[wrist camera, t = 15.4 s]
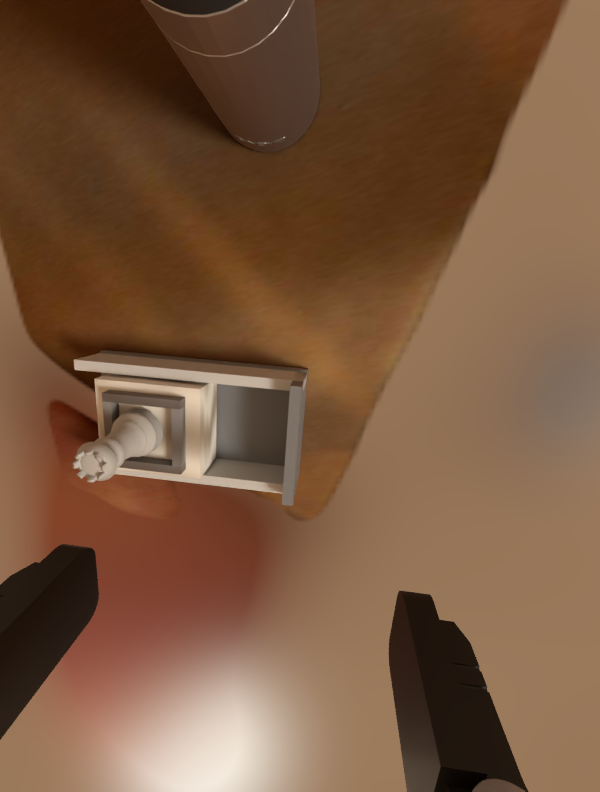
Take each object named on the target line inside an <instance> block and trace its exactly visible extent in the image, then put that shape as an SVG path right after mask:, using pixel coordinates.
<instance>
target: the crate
mask: <svg viewBox="0 0 600 792" xmlns="http://www.w3.org/2000/svg"><path fill="white" fill-rule="evenodd" d="M94 380H95V393H96V405H97V419H98V432H99V438H102V437H106V436H107V435H109V434H110V432H111V429H112V426H113V423H114V421H115V420H116V419H117V418H118V417H119V416H120V415H122V414H123V413H124V412H125V411H128V410H131V409H133V408H135V409H144V410H146V411H148V412H150V413H152V414H153V415H154V416H155V417H156V418H157V419H158V420H159V422H160V424H161V427H162V430H163V438H162V441H161V444H160V445H159V446H158V447H157V448H156V449H155V450H154V451H152V452H150V453H149V454H147V455H144V456H141V457H129V458H127V459H125V460H124V462H123V464H122V465H121V466H120V467H119V468H117V469H119V470H128V471H136V472H145V473H154V474H162V475H171V476H179V477H188V478H197V479H200V478H201V477H202V475H203V474H204V473H205V471H206V470H207V469H208V467H209V466H210V465H211V463H212V462H213V461H214V459H215V458H216V425H217V384H214V383H204V382H194V381H183V380H173V379H163V378H152V377H142V376H132V375H122V374H111V373H109V374H106V375H104V376H101V377H98V378H95V379H94Z"/></svg>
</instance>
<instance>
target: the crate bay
mask: <svg viewBox="0 0 600 792" xmlns="http://www.w3.org/2000/svg"><path fill="white" fill-rule="evenodd" d="M74 368H75V370H81V371H91V372H101V376H104V375H106V374H109V373H111V374H122V375H132V376H142V377H152V378H163V379H173V380H183V381H194V382H204V383H214V384H217V425H216V458H215V459H214V461H213V462H212V463H211V465H210V466H209V467H208V469H207V470H206V471H205V473H204V474H203V475H202V477H201V478H200V479H197V478H188V477H179V476H171V475H162V474H154V473H145V472H136V471H128V470H119V469H116V472H115V474H121V475H129V476H138V477H146V478H155V479H163V480H172V481H181V482H189V483H198V484H206V485H215V486H223V487H232V488H240V489H249V490H257V491H266V492H274V493H283V495H282V505H289V506H292V505H293V500H294V496H295V491H296V486H297V481H298V477H299V471H300V459H301V447H302V435H303V423H304V410H305V398H306V386H307V374H308V369H305V368H294V367H284V366H273V365H262V364H251V363H241V362H230V361H219V360H208V359H198V358H187V357H176V356H165V355H155V354H144V353H133V352H122V351H111V350H102V351H99V353H98V354H94V355H90V356H86V357H82V358H78V359H74Z"/></svg>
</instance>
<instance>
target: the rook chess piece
mask: <svg viewBox="0 0 600 792" xmlns="http://www.w3.org/2000/svg"><path fill="white" fill-rule="evenodd" d="M162 438H163V430H162V427H161V424H160V422H159V420H158V419H157V418H156V417H155V416H154V415H153V414H152V413H150V412H148V411H146V410H144V409H135V408H133V409H131V410H128V411H125V412H124V413H123V414H122V415H120V416H119V417H118V418H117V419H116V420H115V421H114V423H113V426H112V429H111V432H110V434H109V435H107V436H106V437H102V438H99V439H97V440H96V441H95V442H88V443H85V444H83V445H82V446H81V447H80V448H79V449H78V451H77V455H76V456H75V457H74V458H76V461H74V462H72V465H73V469H75V468H78V469H79V471H80V472H79V473H77V474H76V475H77V476H78V477H79V478H80V479H82V478H83V477H85V476H86V477H88V478H87V482H95V481H96V480H99V481H104V480H107V479H110V478H111V477H112V476H113V475H114V474H115V472H116V469H117V468H119V467H120V466H121V465H122V464H123V462H124V460H125V459H127V458H129V457H141V456H144V455H147V454H149V453H150V452H152V451H154V450H155V449H156V448H157V447H158V446H159V445H160V444H161V441H162Z"/></svg>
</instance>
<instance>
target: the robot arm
mask: <svg viewBox="0 0 600 792" xmlns="http://www.w3.org/2000/svg"><path fill="white" fill-rule="evenodd" d="M140 1H141V2H142V4H143V5H144V7H145V8H146V10H147V11H148V13H149V14H150V15H151V17H152V18H153V20H154V21H155V23H156V24H157V26H158V27H159V29H160V30H161V32H162V33H163V35H164V36H165V38H166V39H167V41H168V42H169V44H170V45H171V47H172V48H173V50H174V51H175V53H176V54H177V56H178V57H179V59H180V60H181V62H182V63H183V65H184V66H185V68H186V69H187V71H188V72H189V74H190V75H191V77H192V78H193V80H194V81H195V83H196V84H197V86H198V87H199V89H200V90H201V92H202V93H203V95H204V96H205V98H206V99H207V101H208V102H209V104H210V105H211V107H212V108H213V110H214V111H215V113H216V114H217V116H218V117H219V119H220V120H221V122H222V123H223V125H224V126H225V128H226V129H227V131H228V132H229V133H230V134H231V135H232V137H233V138H234V139H235V140H236V141H238V142H239V143H240V144H242V145H243V146H245V147H247V148H249V149H252V150H254V151H259V152H276V151H279V150H282V149H285V148H287V147H289V146H290V145H292V144H294V143H295V142H296V141H297V140H298V139H299V138H301V137H302V136H303V135H304V133H305V132H306V131H307V129H308V128H309V126H310V125H311V123H312V121H313V119H314V116H315V114H316V111H317V107H318V103H319V97H320V78H319V65H318V49H317V36H316V23H315V10H314V0H140ZM98 598H99V591H98V579H97V568H96V556H95V551H94V550H93V549H92V548H88V547H81V546H74V545H66V544H62V545H60V546H58V547H57V548H55V549H54V550H53V551H52V552H51V553H50V554H49V555H48V556H47V557H46V558H44V559H43V560H42V561H41V562H40V563H37V562H35V563H33V564H31V565H29V566H28V567H26V568H24V569H22V570H20V571H19V572H17V573H15V574H13V575H11V576H10V577H9V578H8V579H6V580H5V581H4V582H3V583H2V584H1V585H0V739H1V738H2V737H3V736H4V734H5V733H6V731H7V730H8V729H9V727H10V726H11V725H12V724H13V722H14V721H15V720H16V718H17V717H18V715H19V714H20V713H21V712H22V710H23V709H24V707H25V706H26V705H27V704H28V702H29V701H30V700H31V698H32V697H33V696H34V694H35V693H36V692H37V690H38V689H39V688H40V686H41V685H42V684H43V682H44V681H45V680H46V678H47V677H48V676H49V674H50V673H51V672H52V670H53V669H54V668H55V666H56V665H57V664H58V662H59V661H60V660H61V658H62V657H63V656H64V654H65V653H66V652H67V651H68V649H69V648H70V646H71V645H72V644H73V642H74V641H75V640H76V639H77V637H78V636H79V635H80V633H81V632H82V631H83V629H84V628H85V627H86V625H87V624H88V623H89V621H90V620H91V618H92V616H93V614H94V612H95V610H96V607H97V603H98ZM389 666H390V674H391V681H392V688H393V695H394V702H395V709H396V716H397V722H398V730H399V737H400V744H401V751H402V758H403V765H404V772H405V780H406V787H407V792H528V790H527V788H526V786H525V784H524V782H523V779H522V777H521V775H520V772H519V769H518V767H517V764H516V762H515V759H514V756H513V754H512V751H511V749H510V746H509V743H508V741H507V738H506V735H505V733H504V730H503V728H502V725H501V722H500V720H499V717H498V714H497V712H496V710H495V707H494V704H493V701H492V699H491V696H490V693H489V692H487V686H486V683H485V680H484V678H483V675H482V673H481V672H480V670H479V665H478V662H477V660H476V657H475V654H474V652H473V649H472V647H471V644H470V642H469V641H468V639H467V638H466V637H465V636H464V634H463V633H462V632H461V631H460V629H459V628H458V627H457V625H456V624H455V623H454V622H450V621H444V620H439V617H438V614H437V611H436V608H435V605H434V601H433V599H432V597H431V595H429V594H421V593H414V592H405V591H399V593H398V596H397V601H396V606H395V612H394V617H393V623H392V628H391V633H390V639H389Z"/></svg>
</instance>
